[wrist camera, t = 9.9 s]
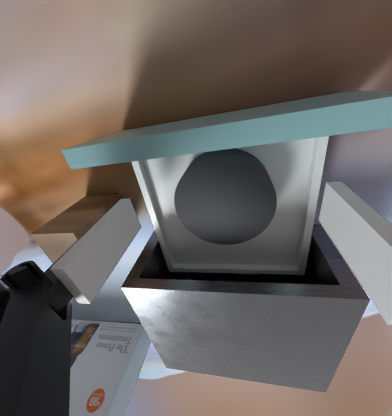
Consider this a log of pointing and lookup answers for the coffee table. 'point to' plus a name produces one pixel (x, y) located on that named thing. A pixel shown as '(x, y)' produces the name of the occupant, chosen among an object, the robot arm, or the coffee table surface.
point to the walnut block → (72, 224)
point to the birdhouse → (257, 146)
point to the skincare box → (105, 366)
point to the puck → (225, 197)
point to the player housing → (250, 317)
